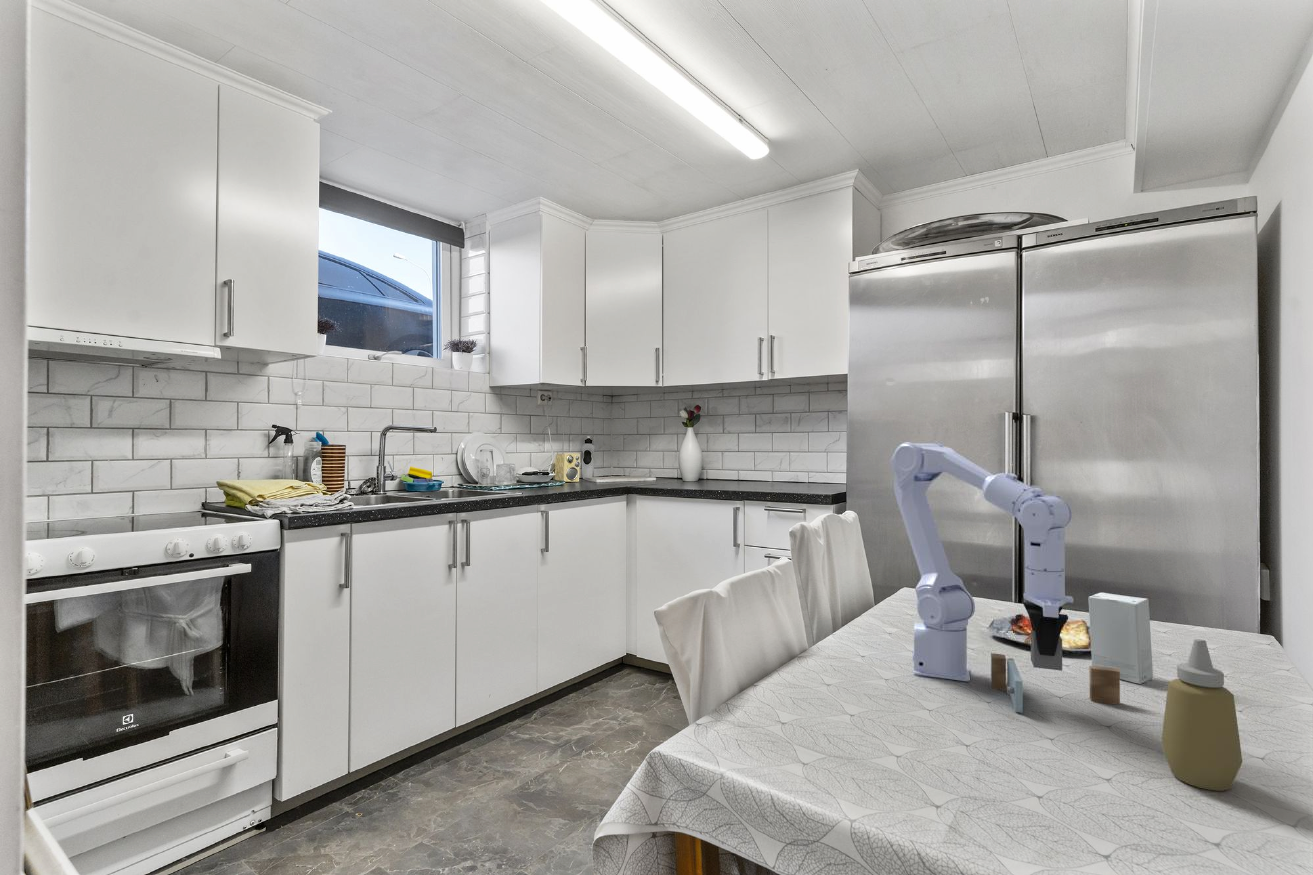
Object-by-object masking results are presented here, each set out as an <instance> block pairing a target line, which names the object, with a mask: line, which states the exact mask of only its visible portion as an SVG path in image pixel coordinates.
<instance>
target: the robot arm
mask: <svg viewBox="0 0 1313 875" xmlns="http://www.w3.org/2000/svg"><path fill="white" fill-rule="evenodd" d="M890 465H891V468H892V471H893V473H894V476H893V477H894V478H893V491H894V496H895V499H896V502H897V505H898V508H899V512H900V514H901V517H902V520H903V524H904V526H905V530H906V534H907V536H908V540H909V543H910V545H911V549H912V552H913V555H914V556H913V557H914V558H915V561H916V565H917V568H918V572H919V574H920V580H919V582H918V583H917V585H916V586H915V589H914V590H915V591H914V592H915V593H916V599H917V601H916V610H917V614H918V616H919V619H921V620H922V622H914V627H913V628H914V629H913V651H912V662H913V674H914V675H916V676H924V677H931V678H932V677H933V678H940V679H945V680H946V679H947V680H954V681H955V680H956V681H962V682H971V677H970V670H969V669H970V668H969V666H968V663H967V662H968V658H967V657H968V642H967V641H968V633H967V632H968V626H969V620H970V619H971V618H972V617H973V616H974V614H975V611H976V605H975V600H974V598H973V596H972V595H971V593H969V591H968V589H967V588H966V586H965V585H964V582H963V580H962V579H961V578H960V577H959V576H957V574H955V573H954V572H953V571H952V570H951V567H950V565H949V564H950V563H949V561H948V558H947V555H946V551H945V549H944V546H943V543H942V540H941V537H940V534H939V532H938V529H937V525H936V522H935V519H934V516H933V513H932V510H931V507H930V504H929V501H928V499H927V496H926V493H927V491H928V489H929V488H930V487H931V485H932V484H933V483H934V482H935V481H936V480H937V479H938V478H939V477H940V476H941V475H942V474H943V473H947V474H948V475H951V476H952V477H955V478H956V479H958V480H961V481H962V482H964V483H967V484H969V485H971V486H973V487H974V488H977V489H979V490H980V491H982V493H983V498H984V499H985V501H986V502H988V503H989V504H991V505H994V506H995V507H996V508H998V509H1000V510H1002V511H1004V512H1005V513H1008V514H1009V515H1011V516H1013V517H1014V518H1016V519H1017V521H1018V523H1019V525H1021V527H1022V529H1023V536H1024V592H1023V599H1024V600H1026V601H1024V602H1022V604H1023V606H1024V608H1025V610H1026V612H1027V615H1028V617H1029V618H1030V622H1031V626H1032V631H1035V635H1036V641H1037V647H1038V651H1039V653H1040V655H1047V656H1055V653H1056V649H1057V645H1058V640H1059V636H1060V633H1061V631H1062V629H1063V627H1064V625H1065V623H1066V622H1068V620H1069V616H1068V614H1064V613H1061V612H1062V610H1063V606H1064V605H1065V604H1067V603H1071V604H1073V603H1074V598H1073V597H1072V596H1069V595H1066V585H1065V584H1066V578H1065V577H1066V576H1065V575H1066V571H1065V570H1066V569H1065V568H1066V566H1065V565H1066V545H1065V544H1066V542H1065V541H1066V538H1065V536H1066V535H1065V534H1066V533H1065V531H1066V530H1065V529H1066V528H1065V527H1067V526H1068V525H1069V523H1070V522H1071V520H1072V518H1073V517H1072V508H1071V507H1070V505H1069V503H1068V502H1067V501H1066V500H1064V499H1063V498H1062V497H1061V496H1060V495H1058V494H1047V495H1044V493H1043V489H1041V488H1039V487H1031V486H1030V485H1028V484H1026V483H1024V482H1022V481H1021V480H1019V479H1018V475H1016V474H1015V473H1012V472H1009V473H1005V472H1000V473H996V474H992V473H991V472H989V471H987V470H986V469H984V468H982V467H981V466H979V465H978V464H977V463H974V461H973V462H972V461H971V460H969V459H968V458H965V457H964V456H963V455H961V454H959V453H958V452H956V451H955V450H954V449H953V448H951V447H948V446H944V445H943V444H941V443H938V442H931V443H918V442H917V443H914V442H913V443H912V442H903V443H901V444H900V445H898V446H897V447H896V449H895V450H894V453H893V455H892V457H891V459H890ZM1028 601H1029V602H1028Z"/></svg>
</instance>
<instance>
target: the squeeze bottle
mask: <svg viewBox="0 0 1313 875" xmlns="http://www.w3.org/2000/svg"><path fill="white" fill-rule="evenodd" d="M1187 660H1188V661H1187V662H1184V663H1183V662H1181V663H1179V664H1177V665H1176V677H1177V678H1175V679H1173V680H1171V681H1170V682H1168V683H1167V690H1166V691H1167V692H1166V701H1165V707H1164V715H1163V723H1162V731H1161V732H1162V733H1161V740H1160V744H1161V747H1162V750H1163V752H1164V755H1165V757H1166V761H1167V763H1168V765H1169V768H1170V771H1171V773H1172V775H1173V776H1174V777H1175V778H1176V779H1178V780H1179V781H1181V782H1183V783H1186V784H1188V785H1191V786H1193V787H1197V788H1200V789H1204V790H1210V791H1218V792H1219V791H1220V792H1221V791H1223V792H1224V791H1228V790H1230V789H1231V787H1232V785H1233V783H1234V781H1235V779H1236V777H1237V775H1238V773H1239V770H1240V768H1241V766H1242V764H1243V762H1244V761H1243V754H1242V748H1241V741H1240V740H1241V739H1240V733H1239V725H1238V718H1237V709H1236V704H1235V703H1236V702H1235V701H1236V700H1235V695H1234V694H1233V693H1232V692H1231V691H1230V690H1229V689H1227V688H1226V687H1225V673H1224V672H1223V671H1222V670H1220V669H1218V668H1215V667H1214V666H1213V662H1212V658H1211V656H1210V651H1209V647H1208V644H1207V641H1206V640H1204V639H1200V638H1199V639H1197V638H1194V639H1193V643H1192V646H1191V649H1190V654H1189V657H1188V659H1187Z"/></svg>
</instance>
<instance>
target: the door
mask: <svg viewBox="0 0 1313 875" xmlns="http://www.w3.org/2000/svg"><path fill="white" fill-rule="evenodd" d="M1006 693H1008V694H1009V696H1010V700H1011V702H1012V705H1013V708H1014V712H1015V713H1021V714H1022V713H1024V712H1023V711H1024V710H1023V708H1024V707H1023V680H1022V677H1021V674H1020V671H1019V670H1018V667H1017V664H1016V662H1015V659H1013V658H1010V657H1008V658H1007V657H1006Z"/></svg>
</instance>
